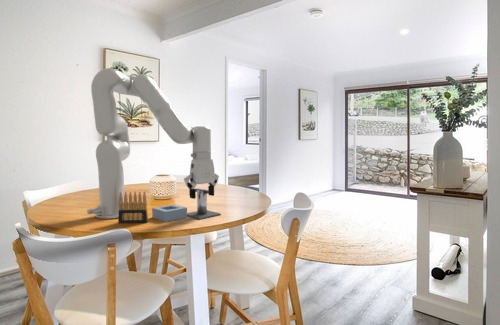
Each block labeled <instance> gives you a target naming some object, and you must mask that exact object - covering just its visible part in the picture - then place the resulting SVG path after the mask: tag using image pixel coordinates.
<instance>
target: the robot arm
mask: <svg viewBox="0 0 500 325" xmlns="http://www.w3.org/2000/svg"><path fill="white" fill-rule="evenodd" d="M90 87H91V88H90V89H91V90H90V92H91V98H92V104H93V116H94V122H95V123H94V124H95V129H96V131H97V133H98V135H101V136H102V137H106V139H105V140H102V141H101V142H100V143H99V144H98V145H97V146H96V149H95V158H96V163H97V170H98V196H99V197H98V198H99V201H98V202H99V205H98V204H97V205H96V207H94V208H90V209H86V214H87V215H95V218H97V219H101V220H103V219H104V220H111V219H118V217H119V195H120V192H121V193H122V196H123V206H124V194H125V182H124V181H125V177H124V176H125V175H124V168H123V162H124V161H126V159H127V158H129V156H130V155H131V154H130V153H131V144H130V143H131V142H130V136H129V128H128V124H127V122H126V121H125V119H124V118H123V117H122V116H120V115H119V114H118V111H117V110H118V109H117V103H116V99H115V96H114V92H115V93H117V94H120V95H127V96H132V97H138V98H139V99H140V100H141V101H142V103H143V104H145V106H146V107H147V108H148V109H149V111H150V113H152V115H153V116H154V118H155V119H156V122H158V124H159V125H160V127H161V128H162V129H163V131H164V132H165V133H166V134H167V135H168V137H169V138H170V139H171V141H173V142H174V143H175V144H177V145H186V144H187V145H188V144H192V153H191V154H190V157H191V158H192V159H191V160H190V167H189V174H188V175H187V176H186V177H184V178H183V181H184V183H185V186H186V187H187V188H188V190H189V198H190V199H193V200H195V199H197V192H196V190H195V189H196V188H195V187H197V185H203V184H208V186H207V187H208V189H207V190H208V191H209V194H207V196H211V197H212V196H213V197H214V196H215V186H216V184H217V183H218V180H219V177H220V176H219V175H218V174H217V173H215V164H214V160H213V159H212V152H211V151H212V145H211V144H212V134H211V132H212V130H211V128H210V126H206V125H205V126H193V127H192V126H186V125H185V124H184V123H183V122H182V121H181V119H180V118H179V117H178V116H177V114H176V112H175V111H174V109H173V107H172V104H171V101H170V100H169V99H168V98H167V96H166V95H165V94H164V93H163V92H162V90H161V89H160V88H159V85H158V83H157V82H156V80H154V79H153V78H152V77H151V76H148V75H147V74H144V73H141V74H138V75H136V76H133V75H128V74H125V73H124V72H122V71H120V70H118V69H117V68H116V69H115V68H112V67H107V68H103V69H101V70H100V71H98V72H97V73H96V74H95V75H94V77H93V79H92V82H91V85H90Z"/></svg>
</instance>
